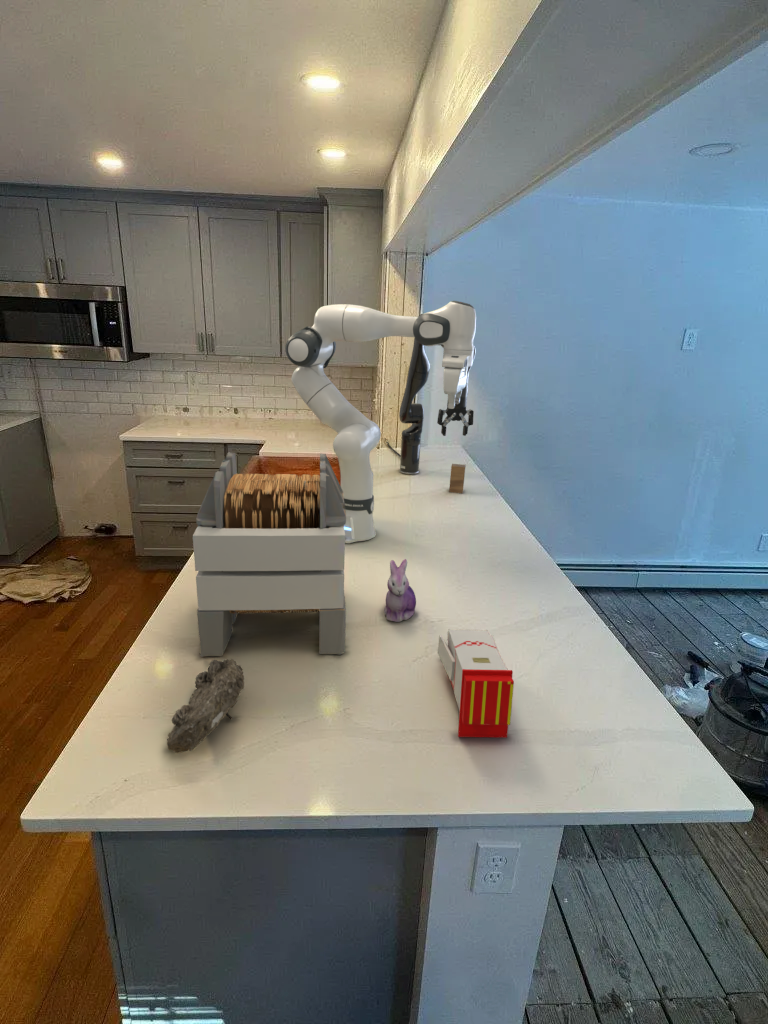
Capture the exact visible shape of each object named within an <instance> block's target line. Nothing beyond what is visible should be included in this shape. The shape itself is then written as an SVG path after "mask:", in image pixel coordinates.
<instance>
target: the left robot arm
mask: <svg viewBox="0 0 768 1024" xmlns="http://www.w3.org/2000/svg"><path fill="white" fill-rule="evenodd" d="M421 314H422V315H420V314H419V315H420V316H419V315H418V316H419V317H418V316H414V315H413V316H412V315H411V316H410V315H397V314H391V313H387V312H384V311H381V310H378V309H374V308H371V307H368V306H364V305H358V304H348V303H346V304H345V303H339V304H338V303H337V304H328V305H324V306H323V305H322V306H320V307H319V308H318V309H317V310H316V312H315V314H314V317H313V325H312V326H309V325H307V326H305V327H303V328H301V329H299V330H298V331H295V333H293V334H292V335H291V336H290V337H289V338H288V339H287V340H286V343H285V350H284V351H285V354H286V357H287V359H288V361H290V362H291V363H292V364H294V365H295V366H297V367H296V368H295V369H294V371H293V372H292V374H291V383H292V385H293V387H294V389H295V391H296V392H297V394H298V395H299V397H300V398H301V400H302V401H303V402H304V403H305V405H307V407H308V408H309V409H310V411H311V412H312V413H313V414H314V415H315V417H316V418H317V419H318V420H319V421H320V423H322V424H323V425H325V426H326V427H328V428H330V429H331V430H333V431H334V432H336V433H337V434H336V435H335V437H334V439H333V442H332V449H333V452H334V454H335V455H336V457H337V462H338V466H339V473H340V486H341V489H342V491H343V496H344V503H345V511H346V523H345V524H344V530H345V544H352V543H357V542H365V541H368V540H372V539H373V538H375V537H376V535H377V532H376V528H375V523H374V513H373V512H374V509H375V496H374V472H373V470H372V466H371V460H370V458H371V457H370V455H371V452H372V451H373V450H374V449H376V448H377V446H378V445H379V442H380V440H381V437H382V432H381V429H380V427H379V425H378V424H377V423H376V422H375V421H373V420H371V419H369V418H368V417H366V415H364V413H362V412H361V411H360V410H359V409H357V408H356V407H355V406H354V405H353V404H352V403H350V402H349V400H348V399H347V398H346V397H345V396H344V395H343V393H341V391H340V390H339V389H338V388H337V387H336V386H335V384H334V383H333V381H332V380H330V379H329V377H328V376H327V375H326V373H325V370H324V369H326V368H327V367H328V365H329V364H330V362H331V359H332V358H333V357H334V355H335V353H336V350H337V349H336V348H337V343H336V342H343V343H344V342H345V343H365V342H369V341H370V342H371V341H375V340H379V339H380V340H381V339H383V338H391V337H403V338H414V337H415V339H416V340H417V341H418V342H419V343H420V344H422V345H424V347H435V346H441V345H444V348H443V354H442V361H441V366H442V368H443V383H442V384H443V393H444V395H447V403H448V408H449V409H453V408H454V407H455V404H459V403H460V397H461V393H462V389H463V388H465V386H466V379H467V371H468V367H470V366H471V367H473V364H474V363H473V362H474V360H473V352H474V347H473V344H474V339H475V336H476V328H477V312H476V308H475V307H474V306H473V305H472V304H471V303H467V302H464V301H459V300H451V301H449V302H448V303H446V304H445V305H443V306H441V307H439V308H437V309H434V310H432V311H427V312H425V313H421Z"/></svg>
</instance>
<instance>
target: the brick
mask: <svg viewBox="0 0 768 1024" xmlns="http://www.w3.org/2000/svg"><path fill="white" fill-rule="evenodd" d="M466 466H467V465H466V464H461V463H459V464H458V463H452V464H451V466H450V477H449V490H448V492H449V493H455V494H463V493H464V486H465V476H466Z"/></svg>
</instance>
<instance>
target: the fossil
mask: <svg viewBox="0 0 768 1024" xmlns="http://www.w3.org/2000/svg"><path fill="white" fill-rule="evenodd" d="M243 670H244V669H243V667H242V665H240V664H237V662H236V661H235V660H234V659H232V658H231V659H227V658H226V659H224V660H223V661H222V660H217V659H212V660H211V661H210V663H209V665H208V666H207V671H201V672H199V673H198V674H197V675H196V676H195V680H194V684H195V685H194V687H195V689H194V690H193V693H192V694H191V697H190V698H189V700H188V704H184V705H182V706H181V707H180V709H177V710H176V711H175V713H174V715H173V716H172V718H171V723H172V724H173V727H172V730H171V731H170V732H168V734H167V738H166V741H167V742H166V745H167V749H168V750H169V751H173V752H174V753H176V754H178V753H182V752H188V751H189V752H192V751H193V750H195V748H196V747H197V746H199V744H200V743H201V742H203V741H204V740H205V739H206V738H207V737H208V736H209V735H210V734H211V733H212V732H214V730H215V729H217V727H218V726H219V724H220V722H221V721H222V720H223V719H224V718H225V716H226V717H227V719H229V720H233V717H232V715H230V714H229V710H230V709H231V708H234V706H235V704H236V703H237V702H238V699H239V697H240V695H241V693H242V691H243V690H245V689H244V688H245V675H244V671H243Z"/></svg>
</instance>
